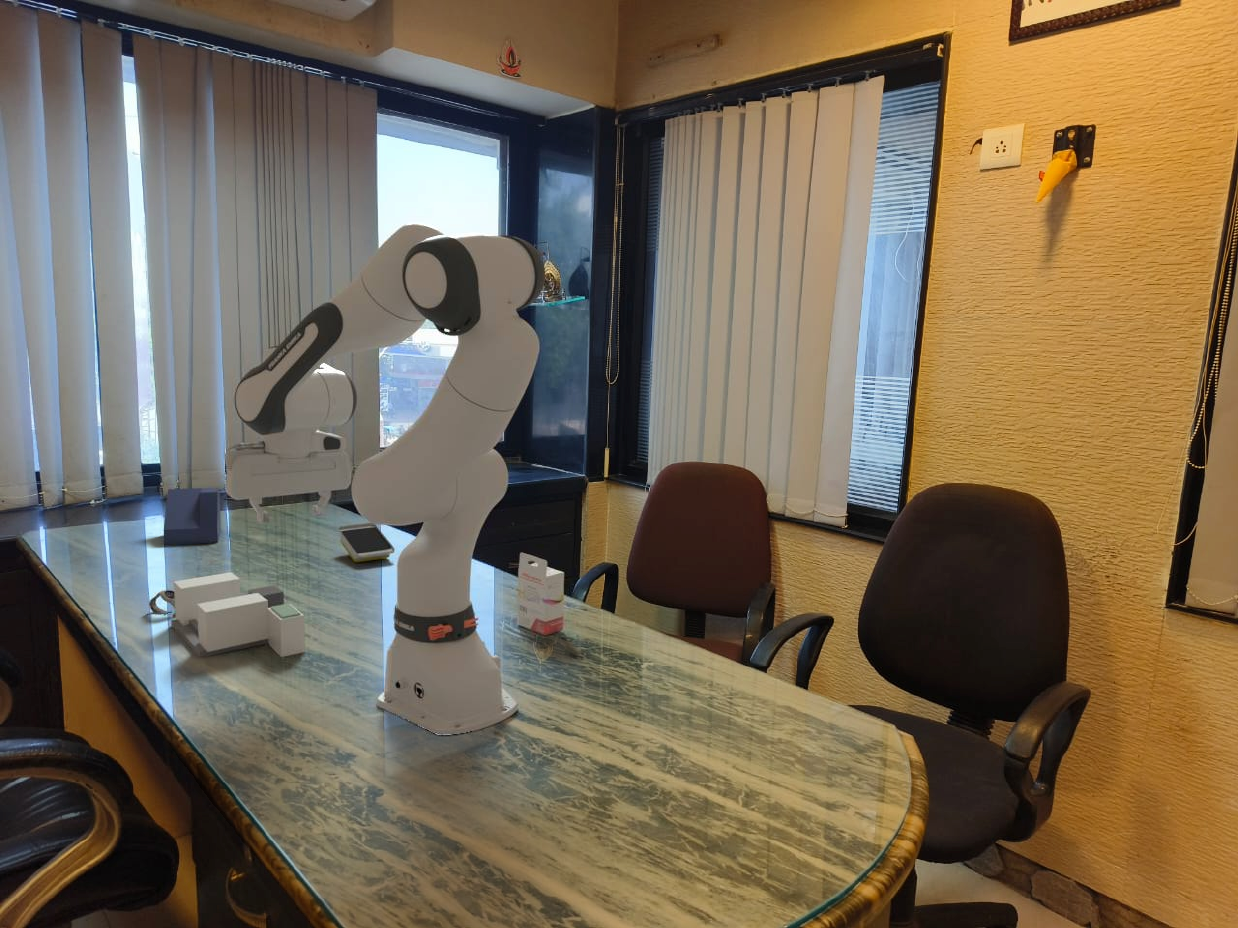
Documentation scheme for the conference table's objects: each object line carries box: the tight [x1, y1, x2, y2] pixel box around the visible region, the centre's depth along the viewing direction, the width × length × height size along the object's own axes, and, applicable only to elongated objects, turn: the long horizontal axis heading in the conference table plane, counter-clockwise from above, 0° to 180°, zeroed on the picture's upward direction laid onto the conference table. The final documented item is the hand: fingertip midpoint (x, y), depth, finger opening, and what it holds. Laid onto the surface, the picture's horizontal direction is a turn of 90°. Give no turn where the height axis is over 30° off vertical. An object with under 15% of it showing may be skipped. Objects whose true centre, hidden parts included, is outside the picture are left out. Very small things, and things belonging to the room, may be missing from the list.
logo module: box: [267, 603, 306, 658], centre depth 138 cm, size 7×4×7 cm, turn 41°
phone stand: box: [163, 487, 222, 546], centre depth 205 cm, size 12×12×12 cm
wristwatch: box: [148, 589, 176, 617], centre depth 152 cm, size 4×6×5 cm, turn 78°
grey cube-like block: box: [248, 585, 285, 608], centre depth 157 cm, size 5×5×4 cm
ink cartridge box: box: [516, 552, 565, 636], centre depth 153 cm, size 9×5×15 cm, turn 47°
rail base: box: [170, 572, 269, 658], centre depth 143 cm, size 20×12×8 cm, turn 43°
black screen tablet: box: [338, 522, 395, 563], centre depth 196 cm, size 9×4×15 cm
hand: (291, 518), depth 137 cm, fingers open, 8 cm apart
